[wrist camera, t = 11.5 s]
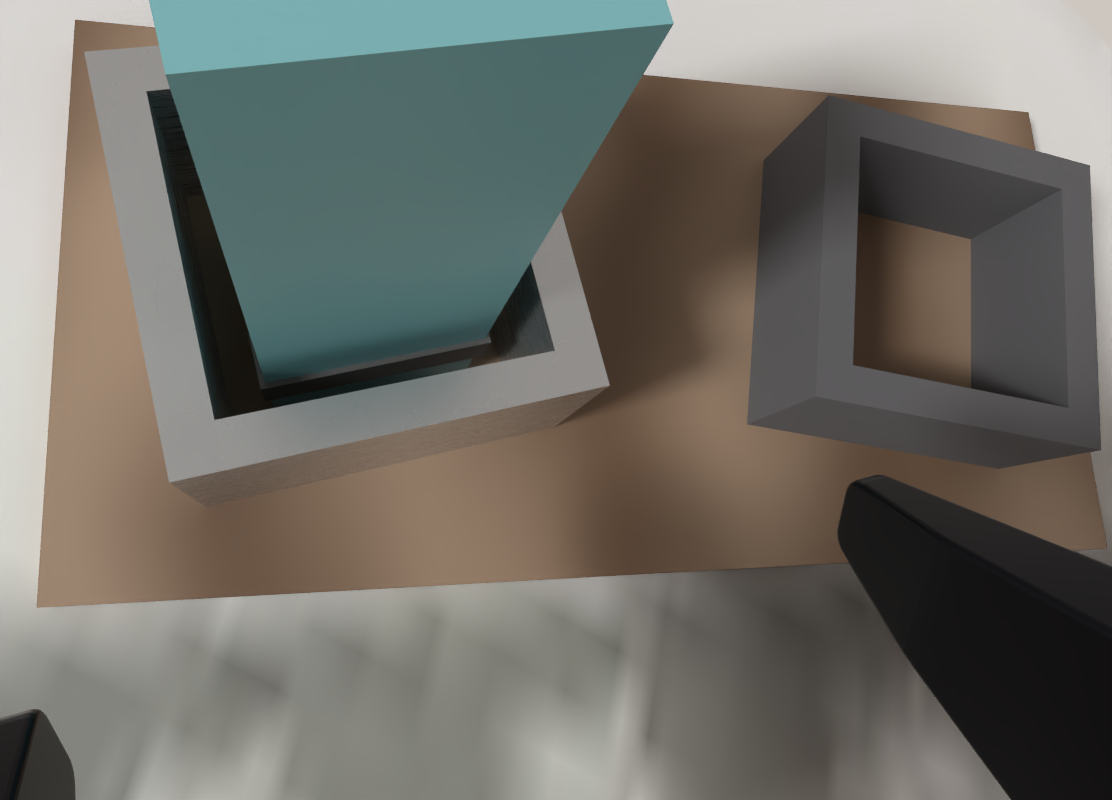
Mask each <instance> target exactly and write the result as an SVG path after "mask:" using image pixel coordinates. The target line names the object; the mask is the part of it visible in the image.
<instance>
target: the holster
mask: <svg viewBox="0 0 1112 800" xmlns="http://www.w3.org/2000/svg"><path fill="white" fill-rule="evenodd" d="M858 212H859V213H863V214H867V215H871V216H875V217H880V218H884V219H888V220H892V221H896V222H900V223H905V224H909V225H913V226H917V227H921V228H925V229H930V230H934V231H938V232H942V233H946V234H950V235H955V236H959V237H963V238H967V239H971V388H966V387H961V386H956V385H951V384H946V383H941V382H935V381H930V380H925V379H920V378H915V377H910V376H905V375H900V374H895V373H890V372H885V371H880V370H875V369H870V368H865V367H860V366H855V365H853V346H854V316H855V285H856V255H857V224H858ZM747 424H748V425H753V426H759V427H765V428H770V429H776V430H782V431H787V432H793V433H799V434H804V435H810V436H816V437H821V438H827V439H833V440H838V441H844V442H850V443H855V444H861V445H867V446H872V447H878V448H884V449H889V450H895V451H901V452H906V453H912V454H918V455H923V456H929V457H935V458H940V459H946V460H952V461H957V462H963V463H969V464H974V465H980V466H986V467H991V468H997V469H1001V468H1006V467H1012V466H1017V465H1023V464H1028V463H1033V462H1039V461H1044V460H1050V459H1055V458H1060V457H1066V456H1071V455H1077V454H1082V453H1088V452H1093V451H1098V450H1101V439H1100V414H1099V388H1098V363H1097V337H1096V312H1095V286H1094V261H1093V235H1092V210H1091V184H1090V165H1086V164H1082V163H1079V162H1075V161H1071V160H1068V159H1064V158H1060V157H1056V156H1053V155H1049V154H1045V153H1042V152H1038V151H1034V150H1030V149H1027V148H1023V147H1019V146H1016V145H1012V144H1008V143H1005V142H1001V141H997V140H993V139H990V138H986V137H982V136H979V135H975V134H971V133H967V132H964V131H960V130H956V129H953V128H949V127H945V126H942V125H938V124H934V123H930V122H927V121H923V120H919V119H916V118H912V117H908V116H904V115H901V114H897V113H893V112H890V111H886V110H882V109H879V108H875V107H871V106H867V105H864V104H860V103H856V102H853V101H849V100H845V99H841V98H838V97H834V96H830V95H828V96H827V97H826V98H825V99H824V100H823V101H822V102H821V103H820V104H819V105H818V106H817V107H816V108H815V109H814V110H813V111H812V112H811V113H810V114H809V115H808V116H807V117H806V118H805V119H804V120H803V121H802V122H801V123H800V124H799V125H798V126H797V127H796V128H795V129H794V130H793V131H792V132H791V133H790V134H789V135H788V136H787V137H786V138H785V139H784V140H783V141H782V142H781V143H780V144H779V145H778V146H777V147H776V148H775V149H774V150H773V151H772V152H771V153H770V154H769V155H768V156H767V157H766V158H765V159H764V162H763V178H762V194H761V210H760V226H759V242H758V258H757V273H756V289H755V305H754V321H753V337H752V353H751V369H750V385H749V401H748V417H747Z"/></svg>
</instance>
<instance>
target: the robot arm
mask: <svg viewBox="0 0 1112 800" xmlns="http://www.w3.org/2000/svg"><path fill="white" fill-rule="evenodd" d="M837 537H838V542H839V545H840V548H841V550H842V552H843V554H844V555H845V557H846V559H847V560H848V562H849V564H850V565H851V567H852V569H853V570H854V572H855V574H856V575H857V577H858V579H859V581H860V582H861V584H862V586H863V587H864V589H865V591H866V592H867V594H868V596H869V597H870V599H871V601H872V602H873V604H874V606H875V607H876V609H877V611H878V612H879V614H880V616H881V618H882V619H883V621H884V623H885V624H886V626H887V628H888V629H889V631H890V633H891V634H892V636H893V638H894V639H895V641H896V642H897V644H898V645H899V647H900V649H901V650H902V652H903V653H904V655H905V656H906V657H907V659H908V660H909V662H910V663H911V665H912V666H913V667H914V669H915V670H916V672H917V673H918V674H919V676H920V677H921V678H922V680H923V681H924V682H925V684H926V685H927V687H928V688H929V689H930V691H931V692H932V693H933V695H934V696H935V697H936V699H937V700H938V701H939V703H940V704H941V706H942V707H943V708H944V710H945V711H946V712H947V714H948V715H949V716H950V718H951V719H952V720H953V722H954V723H955V725H956V726H957V727H958V729H959V730H960V731H961V733H962V734H963V735H964V737H965V738H966V739H967V741H968V742H969V743H970V745H971V746H972V748H973V749H974V750H975V752H976V753H977V754H978V756H979V757H980V758H981V760H982V761H983V762H984V764H985V765H986V767H987V768H988V769H989V771H990V772H991V773H992V775H993V776H994V777H995V779H996V780H997V781H998V783H999V784H1000V786H1001V787H1002V788H1003V790H1004V791H1005V792H1006V794H1007V795H1008V796H1009V798H1010V799H1011V800H1112V566H1110V565H1107V564H1105V563H1102V562H1100V561H1097V560H1095V559H1092V558H1090V557H1087V556H1085V555H1082V554H1080V553H1077V552H1075V551H1072V550H1070V549H1067V548H1065V547H1062V546H1060V545H1057V544H1055V543H1052V542H1050V541H1047V540H1045V539H1042V538H1040V537H1037V536H1035V535H1032V534H1030V533H1027V532H1025V531H1022V530H1020V529H1017V528H1015V527H1013V526H1010V525H1008V524H1005V523H1003V522H1000V521H998V520H995V519H993V518H990V517H988V516H985V515H983V514H980V513H978V512H975V511H973V510H970V509H968V508H965V507H963V506H960V505H958V504H955V503H953V502H950V501H948V500H945V499H943V498H940V497H938V496H935V495H933V494H930V493H928V492H925V491H923V490H920V489H918V488H915V487H913V486H910V485H908V484H905V483H903V482H900V481H898V480H896V479H893V478H891V477H888V476H885V475H873V476H869V477H866V478H862V479H859V480H855V481H853V482H851V483H850V485H849V486H848V487H847V490H846V493H845V497H844V502H843V506H842V510H841V515H840V519H839V524H838V528H837ZM0 800H76V799H75V778H74V772H73V767H72V764H71V761H70V758H69V756H68V754H67V753H66V751H65V749H64V747H63V745H62V743H61V742H60V740H59V738H58V736H57V734H56V732H55V731H54V729H53V727H52V725H51V723H50V721H49V720H48V718H47V716H46V715H45V714H44V713H43V712H42V711H41V710H38V709H31V710H28V711H24V712H20V713H17V714H13V715H10V716H6V717H2V718H0Z"/></svg>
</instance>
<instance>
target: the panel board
mask: <svg viewBox="0 0 1112 800" xmlns="http://www.w3.org/2000/svg"><path fill="white" fill-rule="evenodd" d="M147 46H159V43H158V38H157V34H156V29H155V27H144V26H134V25H124V24H113V23H103V22H93V21H82V20H75V30H74V45H73V60H72V76H71V91H70V106H69V121H68V137H67V152H66V167H65V182H64V198H63V213H62V228H61V244H60V259H59V274H58V289H57V305H56V320H55V335H54V350H53V366H52V381H51V396H50V411H49V427H48V442H47V457H46V473H45V488H44V503H43V518H42V534H41V549H40V564H39V579H38V595H37V608H38V607H57V606H75V605H93V604H111V603H129V602H147V601H165V600H183V599H201V598H220V597H238V596H256V595H274V594H292V593H310V592H328V591H346V590H364V589H382V588H400V587H418V586H436V585H454V584H472V583H490V582H508V581H526V580H544V579H562V578H580V577H598V576H617V575H635V574H653V573H671V572H689V571H707V570H725V569H743V568H761V567H779V566H797V565H815V564H833V563H849V562H848V560H847V559H846V557H845V555H844V554H843V552H842V550H841V548H840V545H839V542H838V537H837V528H838V524H839V519H840V515H841V510H842V506H843V502H844V497H845V493H846V490H847V487H848V486H849V485H850V483H851V482H853V481H855V480H859V479H862V478H866V477H869V476H873V475H885V476H888V477H891V478H893V479H896V480H898V481H900V482H903V483H905V484H908V485H910V486H913V487H915V488H918V489H920V490H923V491H925V492H928V493H930V494H933V495H935V496H938V497H940V498H943V499H945V500H948V501H950V502H953V503H955V504H958V505H960V506H963V507H965V508H968V509H970V510H973V511H975V512H978V513H980V514H983V515H985V516H988V517H990V518H993V519H995V520H998V521H1000V522H1003V523H1005V524H1008V525H1010V526H1013V527H1015V528H1017V529H1020V530H1022V531H1025V532H1027V533H1030V534H1032V535H1035V536H1037V537H1040V538H1042V539H1045V540H1047V541H1050V542H1052V543H1055V544H1057V545H1060V546H1062V547H1065V548H1067V549H1070V550H1086V549H1103V548H1107V544H1106V538H1105V533H1104V527H1103V522H1102V516H1101V511H1100V505H1099V500H1098V494H1097V489H1096V483H1095V478H1094V472H1093V467H1092V461H1091V455H1090V452H1088V453H1082V454H1077V455H1071V456H1066V457H1060V458H1055V459H1050V460H1044V461H1039V462H1033V463H1028V464H1023V465H1017V466H1012V467H1006V468H1001V469H997V468H991V467H986V466H980V465H974V464H969V463H963V462H957V461H952V460H946V459H940V458H935V457H929V456H923V455H918V454H912V453H906V452H901V451H895V450H889V449H884V448H878V447H872V446H867V445H861V444H855V443H850V442H844V441H838V440H833V439H827V438H821V437H816V436H810V435H804V434H799V433H793V432H787V431H782V430H776V429H770V428H765V427H759V426H753V425H748V424H747V417H748V401H749V385H750V369H751V353H752V337H753V321H754V305H755V289H756V273H757V258H758V242H759V226H760V210H761V194H762V178H763V162H764V159H765V158H766V157H767V156H768V155H769V154H770V153H771V152H772V151H773V150H774V149H775V148H776V147H777V146H778V145H779V144H780V143H781V142H782V141H783V140H784V139H785V138H786V137H787V136H788V135H789V134H790V133H791V132H792V131H793V130H794V129H795V128H796V127H797V126H798V125H799V124H800V123H801V122H802V121H803V120H804V119H805V118H806V117H807V116H808V115H809V114H810V113H811V112H812V111H813V110H814V109H815V108H816V107H817V106H818V105H819V104H820V103H821V102H822V101H823V100H824V99H825V98H826V97H827V96H828V95H830V96H834V97H838V98H841V99H845V100H849V101H853V102H856V103H860V104H864V105H867V106H871V107H875V108H879V109H882V110H886V111H890V112H893V113H897V114H901V115H904V116H908V117H912V118H916V119H919V120H923V121H927V122H930V123H934V124H938V125H942V126H945V127H949V128H953V129H956V130H960V131H964V132H967V133H971V134H975V135H979V136H982V137H986V138H990V139H993V140H997V141H1001V142H1005V143H1008V144H1012V145H1016V146H1019V147H1023V148H1027V149H1030V150H1034V151H1035V146H1034V141H1033V135H1032V130H1031V124H1030V119H1029V113H1028V112H1019V111H1009V110H999V109H988V108H978V107H968V106H957V105H947V104H937V103H927V102H916V101H906V100H896V99H885V98H875V97H865V96H854V95H844V94H834V93H824V92H813V91H803V90H793V89H782V88H772V87H762V86H752V85H741V84H731V83H721V82H710V81H700V80H690V79H679V78H669V77H659V76H649V75H642V77H641V79H640V80H639V82H638V84H637V85H636V87H635V89H634V90H633V92H632V94H631V95H630V97H629V99H628V100H627V102H626V104H625V105H624V107H623V109H622V110H621V112H620V114H619V115H618V117H617V119H616V120H615V122H614V124H613V125H612V127H611V129H610V130H609V132H608V134H607V135H606V137H605V139H604V140H603V142H602V144H601V145H600V147H599V149H598V150H597V152H596V154H595V155H594V157H593V159H592V161H591V162H590V164H589V166H588V167H587V169H586V171H585V172H584V174H583V176H582V177H581V179H580V181H579V182H578V184H577V186H576V187H575V189H574V191H573V192H572V194H571V196H570V197H569V199H568V201H567V202H566V204H565V206H564V207H563V209H562V211H561V212H562V215H563V219H564V222H565V226H566V230H567V233H568V237H569V240H570V244H571V248H572V251H573V255H574V258H575V262H576V266H577V269H578V273H579V276H580V280H581V284H582V287H583V291H584V294H585V298H586V302H587V305H588V309H589V312H590V316H591V320H592V323H593V327H594V330H595V334H596V337H597V341H598V345H599V348H600V352H601V355H602V359H603V363H604V366H605V370H606V373H607V377H608V381H609V384H610V386H609V387H607V388H606V389H604V390H603V391H602V392H600V393H599V394H598V395H596V396H595V397H594V398H592V399H591V400H590V401H588V402H587V403H586V404H584V405H583V406H582V407H580V408H579V409H578V410H576V411H575V412H574V413H572V414H571V415H570V416H568V417H567V418H566V419H564V420H563V421H562V422H560V423H559V424H558V425H556V426H555V427H552V428H548V429H543V430H539V431H535V432H530V433H526V434H522V435H517V436H513V437H509V438H504V439H500V440H496V441H491V442H487V443H483V444H478V445H474V446H470V447H465V448H461V449H457V450H452V451H448V452H444V453H439V454H435V455H431V456H426V457H422V458H418V459H413V460H409V461H405V462H400V463H396V464H392V465H387V466H383V467H379V468H374V469H370V470H366V471H361V472H357V473H353V474H348V475H344V476H340V477H335V478H331V479H327V480H322V481H318V482H314V483H309V484H305V485H301V486H296V487H292V488H288V489H283V490H279V491H275V492H270V493H266V494H262V495H257V496H253V497H249V498H244V499H240V500H236V501H231V502H227V503H223V504H218V505H214V506H210V507H205V506H203V505H202V504H200V503H199V502H197V501H196V500H194V499H193V498H191V497H190V496H188V495H187V494H185V493H184V492H182V491H181V490H179V489H178V488H176V487H175V486H173V485H172V484H170V483H169V480H168V475H167V470H166V465H165V459H164V454H163V449H162V444H161V439H160V434H159V429H158V424H157V419H156V414H155V409H154V404H153V399H152V393H151V388H150V383H149V378H148V373H147V368H146V363H145V358H144V353H143V348H142V343H141V338H140V333H139V327H138V322H137V317H136V312H135V307H134V302H133V297H132V292H131V287H130V282H129V277H128V272H127V267H126V261H125V256H124V251H123V246H122V241H121V236H120V231H119V226H118V221H117V216H116V211H115V206H114V201H113V195H112V190H111V185H110V180H109V175H108V170H107V165H106V160H105V155H104V150H103V145H102V140H101V135H100V129H99V124H98V119H97V114H96V109H95V104H94V99H93V94H92V89H91V84H90V79H89V74H88V69H87V63H86V58H85V53H84V52H87V51H99V50H111V49H123V48H135V47H147ZM186 200H187V205H188V210H189V215H190V219H191V224H192V229H193V234H194V238H195V243H196V248H197V253H198V257H199V262H200V267H201V272H202V276H203V281H204V286H205V291H206V295H207V300H208V305H209V310H210V314H211V319H212V324H213V329H214V333H215V338H216V343H217V348H218V352H219V357H220V362H221V367H222V372H223V376H224V381H225V386H226V391H227V395H228V400H229V405H230V410H231V414H232V416H237V415H242V414H247V413H251V412H256V411H261V410H266V409H271V408H273V405H272V402H271V400H270V401H266V402H265V400H264V397H263V394H262V392H261V388H260V384H259V380H258V375H257V371H256V366H255V362H254V358H253V353H252V349H251V344H250V340H249V335H248V331H247V327H246V322H245V318H244V315H243V312H242V309H241V306H240V303H239V300H238V297H237V294H236V291H235V287H234V284H233V281H232V278H231V275H230V272H229V269H228V266H227V263H226V260H225V257H224V254H223V250H222V247H221V244H220V241H219V238H218V235H217V232H216V229H215V226H214V223H213V220H212V216H211V213H210V210H209V207H208V204H207V201H206V198H205V195H197V196H190V197H186ZM489 335H490V339H491V344H490V345H489V347H488V349H487V350H486V352H485V353H484V355H483V356H481V357H476V358H473V359H472V361H471V363H470V364H469V366H468V368H472V367H477V366H482V365H487V364H492V363H497V362H500V359H499V355H498V351H497V347H496V343H495V340H494V336H493V332H492V328H491V329H490V331H489ZM853 365H855V366H860V367H865V368H870V369H875V370H880V371H885V372H890V373H895V374H900V375H905V376H910V377H915V378H920V379H925V380H930V381H935V382H941V383H946V384H951V385H956V386H961V387H966V388H971V239H967V238H963V237H959V236H955V235H950V234H946V233H942V232H938V231H934V230H930V229H925V228H921V227H917V226H913V225H909V224H905V223H900V222H896V221H892V220H888V219H884V218H880V217H875V216H871V215H867V214H863V213H859V212H858V224H857V255H856V285H855V316H854V346H853Z"/></svg>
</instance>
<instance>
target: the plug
mask: <svg viewBox="0 0 1112 800" xmlns="http://www.w3.org/2000/svg"><path fill="white" fill-rule="evenodd" d="M149 2H150V7H151V11H152V16H153V20H154V25H155V29H156V34H157V38H158V43H159V47H160V52H161V56H162V61H163V65H164V70H165V74H166V78H167V81H168V84H169V87H170V90H171V93H172V96H173V99H174V102H175V105H176V108H177V112H178V115H179V118H180V121H181V124H182V127H183V130H184V133H185V136H186V139H187V142H188V146H189V149H190V152H191V155H192V158H193V161H194V164H195V167H196V170H197V173H198V176H199V179H200V183H201V186H202V189H203V192H204V195H205V198H206V201H207V204H208V207H209V210H210V213H211V216H212V220H213V223H214V226H215V229H216V232H217V235H218V238H219V241H220V244H221V247H222V250H223V254H224V257H225V260H226V263H227V266H228V269H229V272H230V275H231V278H232V281H233V284H234V287H235V291H236V294H237V297H238V300H239V303H240V306H241V309H242V312H243V315H244V318H245V322H246V327H247V331H248V335H249V340H250V344H251V349H252V353H253V358H254V362H255V366H256V371H257V375H258V380H259V384H260V388H261V392H262V394H263V397H264V400H265V402H266V401H270V400H271V402H272V405H273V408H276V407H281V406H286V405H291V404H296V403H301V402H305V401H310V400H315V399H320V398H325V397H330V396H335V395H340V394H345V393H350V392H354V391H359V390H364V389H369V388H374V387H379V386H384V385H389V384H394V383H399V382H404V381H408V380H413V379H418V378H423V377H428V376H433V375H438V374H443V373H448V372H453V371H458V370H462V369H467V368H468V366H469V364H470V363H471V361H472V359H473V358H476V357H481V356H483V355H484V353H485V352H486V350H487V349H488V347H489V345H490V344H491V339H490V335H489V331H490V329H491V328H492V326H493V324H494V322H495V321H496V319H497V317H498V316H499V314H500V312H501V311H502V309H503V307H504V306H505V304H506V302H507V301H508V299H509V297H510V296H511V294H512V292H513V291H514V289H515V287H516V286H517V284H518V282H519V281H520V279H521V277H522V276H523V274H524V272H525V271H526V269H527V267H528V266H529V264H530V262H531V261H532V259H533V257H534V256H535V254H536V252H537V251H538V249H539V247H540V246H541V244H542V242H543V241H544V239H545V237H546V236H547V234H548V232H549V231H550V229H551V227H552V226H553V224H554V222H555V221H556V219H557V217H558V216H559V214H560V212H561V211H562V209H563V207H564V206H565V204H566V202H567V201H568V199H569V197H570V196H571V194H572V192H573V191H574V189H575V187H576V186H577V184H578V182H579V181H580V179H581V177H582V176H583V174H584V172H585V171H586V169H587V167H588V166H589V164H590V162H591V161H592V159H593V157H594V155H595V154H596V152H597V150H598V149H599V147H600V145H601V144H602V142H603V140H604V139H605V137H606V135H607V134H608V132H609V130H610V129H611V127H612V125H613V124H614V122H615V120H616V119H617V117H618V115H619V114H620V112H621V110H622V109H623V107H624V105H625V104H626V102H627V100H628V99H629V97H630V95H631V94H632V92H633V90H634V89H635V87H636V85H637V84H638V82H639V80H640V79H641V77H642V75H643V74H644V72H645V70H646V69H647V67H648V65H649V64H650V62H651V60H652V59H653V57H654V55H655V54H656V52H657V50H658V49H659V47H660V45H661V44H662V42H663V40H664V39H665V37H666V35H667V34H668V32H669V30H670V29H671V27H672V25H673V20H672V17H671V14H670V11H669V8H668V5H667V2H666V0H149Z"/></svg>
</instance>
